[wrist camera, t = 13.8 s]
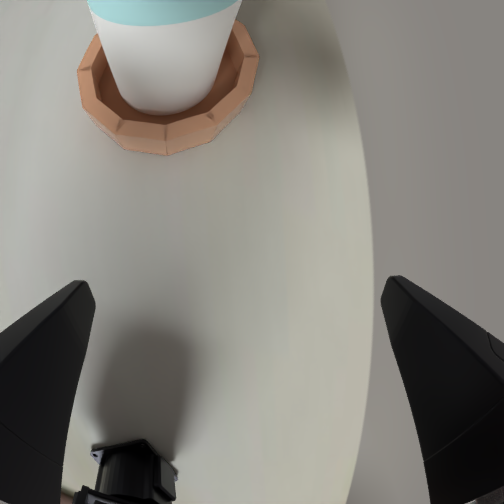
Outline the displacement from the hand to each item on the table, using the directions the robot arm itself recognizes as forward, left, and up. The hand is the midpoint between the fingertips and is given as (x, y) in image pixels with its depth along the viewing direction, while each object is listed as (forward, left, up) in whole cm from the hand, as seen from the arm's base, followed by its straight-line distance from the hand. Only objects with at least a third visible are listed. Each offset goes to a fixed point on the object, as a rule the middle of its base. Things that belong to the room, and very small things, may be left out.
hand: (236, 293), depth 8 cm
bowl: (+2, +13, -12) cm, 18 cm away
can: (+2, +13, -11) cm, 17 cm away
